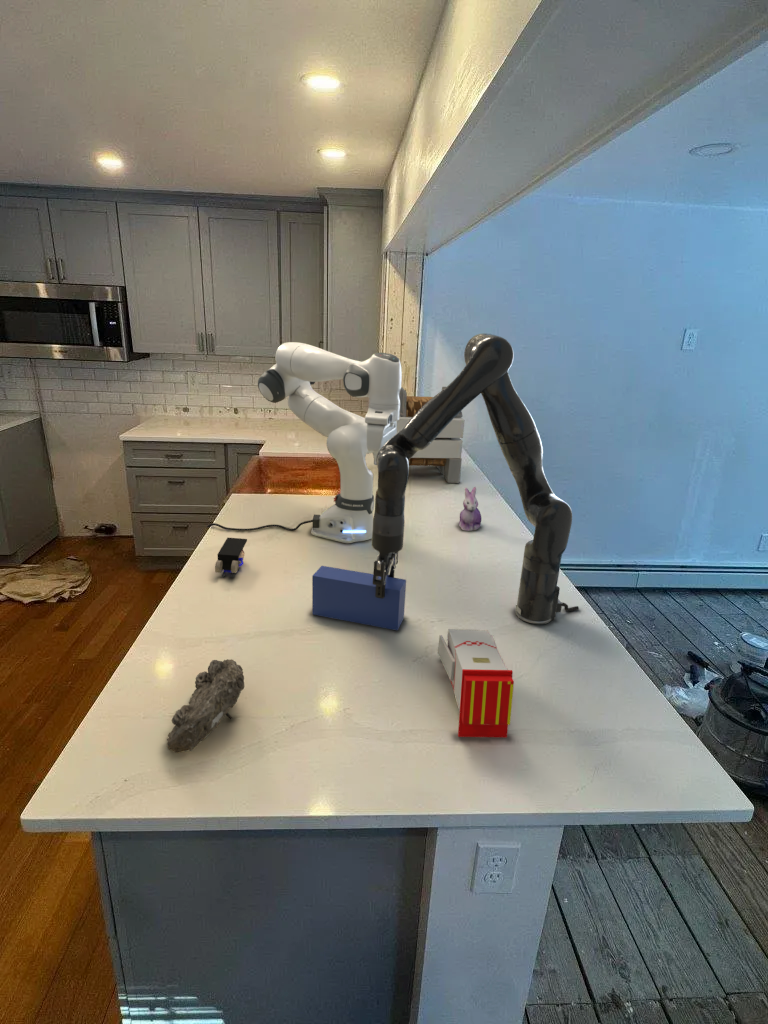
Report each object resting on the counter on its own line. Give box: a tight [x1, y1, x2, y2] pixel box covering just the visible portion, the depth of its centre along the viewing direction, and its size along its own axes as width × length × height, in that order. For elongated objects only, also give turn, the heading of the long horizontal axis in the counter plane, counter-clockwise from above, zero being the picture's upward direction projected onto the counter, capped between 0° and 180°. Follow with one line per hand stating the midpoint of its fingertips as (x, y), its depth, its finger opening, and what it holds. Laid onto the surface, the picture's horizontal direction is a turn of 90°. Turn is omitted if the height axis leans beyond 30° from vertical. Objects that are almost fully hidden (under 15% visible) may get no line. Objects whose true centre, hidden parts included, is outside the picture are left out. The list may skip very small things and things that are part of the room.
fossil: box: [166, 658, 245, 754], centre depth 106 cm, size 22×10×15 cm
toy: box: [437, 628, 515, 738], centre depth 117 cm, size 12×13×30 cm
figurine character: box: [214, 537, 248, 578], centre depth 166 cm, size 7×8×15 cm
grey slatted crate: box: [397, 386, 465, 484], centre depth 268 cm, size 34×33×41 cm
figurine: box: [458, 486, 482, 532], centre depth 206 cm, size 9×10×15 cm
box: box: [311, 565, 407, 631], centre depth 144 cm, size 23×6×11 cm, turn 74°
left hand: (381, 460), depth 165 cm, fingers open, 8 cm apart
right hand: (384, 589), depth 141 cm, fingers open, 8 cm apart
